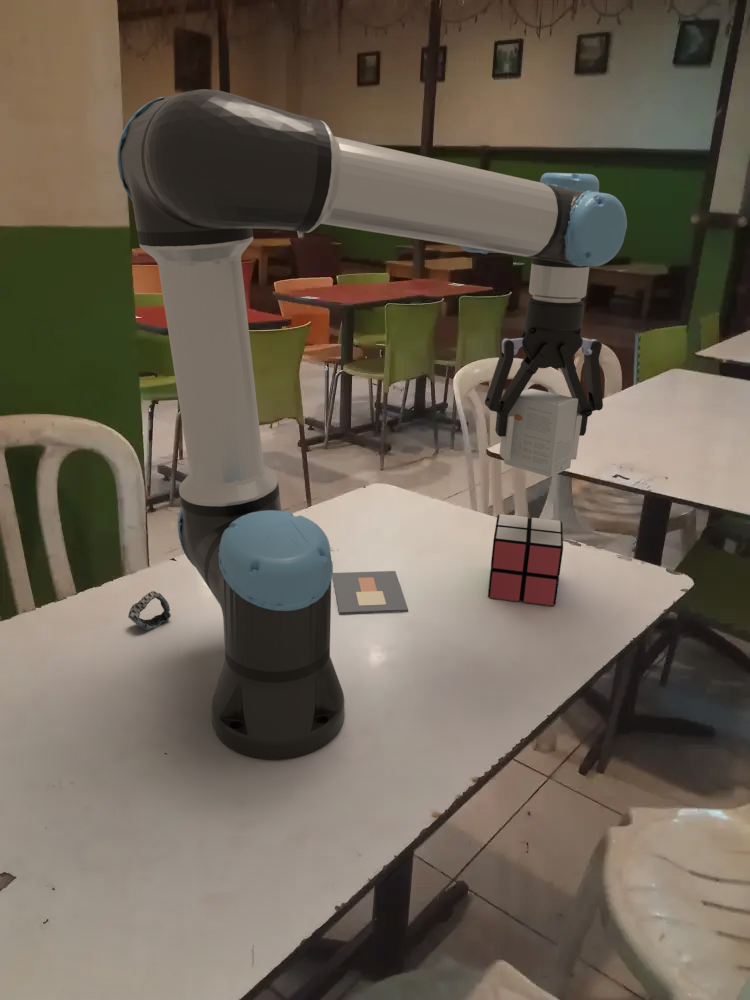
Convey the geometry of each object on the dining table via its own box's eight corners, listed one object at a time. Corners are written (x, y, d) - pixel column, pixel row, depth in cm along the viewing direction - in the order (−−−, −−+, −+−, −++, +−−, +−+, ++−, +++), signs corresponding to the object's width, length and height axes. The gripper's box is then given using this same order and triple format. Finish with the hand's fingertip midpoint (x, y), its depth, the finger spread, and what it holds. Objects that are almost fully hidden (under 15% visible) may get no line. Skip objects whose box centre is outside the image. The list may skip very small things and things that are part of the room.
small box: (570, 469, 113) (580, 398, 109) (550, 478, 109) (559, 405, 105) (523, 455, 118) (531, 387, 114) (502, 463, 114) (509, 393, 110)
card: (339, 614, 112) (339, 611, 112) (332, 575, 123) (332, 572, 123) (408, 611, 113) (408, 608, 113) (395, 573, 124) (395, 570, 124)
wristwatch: (148, 628, 109) (123, 613, 106) (173, 601, 110) (149, 585, 106) (156, 640, 107) (131, 626, 104) (182, 612, 108) (158, 596, 104)
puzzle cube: (555, 608, 116) (563, 547, 112) (487, 599, 118) (493, 539, 114) (554, 577, 125) (562, 519, 121) (491, 569, 127) (497, 512, 123)
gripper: (622, 295, 109) (599, 447, 118) (469, 292, 107) (457, 449, 115) (646, 303, 103) (620, 464, 111) (484, 301, 100) (470, 466, 108)
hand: (537, 456), depth 113 cm, fingers closed on small box, 9 cm apart
